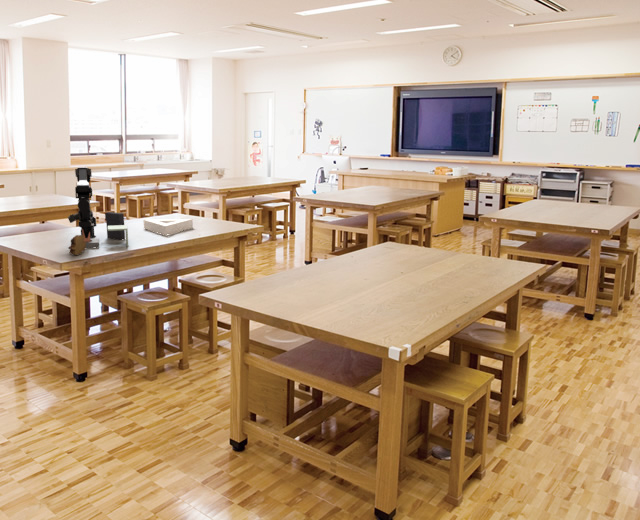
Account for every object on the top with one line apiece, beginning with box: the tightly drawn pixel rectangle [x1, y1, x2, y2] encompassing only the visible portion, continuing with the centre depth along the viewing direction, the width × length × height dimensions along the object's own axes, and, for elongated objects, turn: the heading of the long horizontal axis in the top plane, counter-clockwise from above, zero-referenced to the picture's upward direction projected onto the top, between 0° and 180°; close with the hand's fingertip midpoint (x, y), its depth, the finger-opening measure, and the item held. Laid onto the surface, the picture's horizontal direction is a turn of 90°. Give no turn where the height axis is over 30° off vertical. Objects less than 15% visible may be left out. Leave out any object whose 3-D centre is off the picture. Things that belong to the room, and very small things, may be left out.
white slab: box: [143, 218, 194, 236], centre depth 389 cm, size 30×26×6 cm
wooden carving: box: [68, 234, 86, 256], centre depth 315 cm, size 16×5×10 cm, turn 3°
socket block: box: [85, 238, 100, 249], centre depth 336 cm, size 12×12×3 cm
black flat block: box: [104, 211, 126, 241], centre depth 357 cm, size 11×4×15 cm, turn 62°
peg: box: [82, 229, 91, 242], centre depth 335 cm, size 4×4×10 cm
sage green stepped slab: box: [108, 224, 129, 247], centre depth 340 cm, size 12×10×10 cm
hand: (86, 237), depth 335 cm, fingers closed on peg, 4 cm apart
